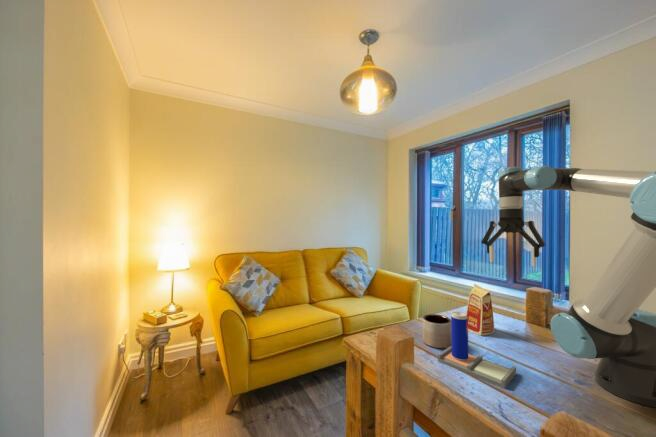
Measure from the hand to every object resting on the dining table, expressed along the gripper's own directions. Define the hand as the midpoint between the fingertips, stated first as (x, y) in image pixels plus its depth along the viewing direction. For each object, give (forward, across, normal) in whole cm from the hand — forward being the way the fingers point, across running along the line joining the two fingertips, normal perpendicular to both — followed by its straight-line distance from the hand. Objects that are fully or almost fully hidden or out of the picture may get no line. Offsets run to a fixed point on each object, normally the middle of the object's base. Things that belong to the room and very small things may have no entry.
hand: (511, 263), depth 102 cm
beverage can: (+31, +9, +25) cm, 41 cm away
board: (+32, +4, +26) cm, 41 cm away
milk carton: (+32, +14, -7) cm, 36 cm away
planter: (+32, +21, +18) cm, 42 cm away
